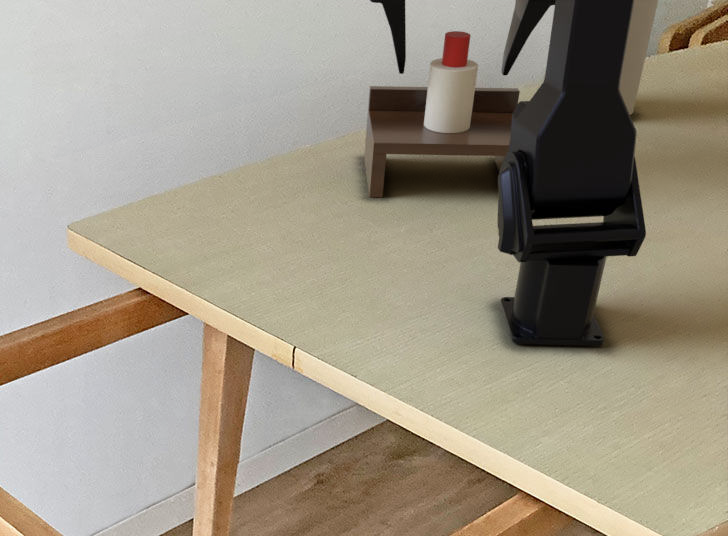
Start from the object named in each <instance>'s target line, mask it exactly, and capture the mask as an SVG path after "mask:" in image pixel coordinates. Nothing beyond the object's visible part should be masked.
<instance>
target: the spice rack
mask: <svg viewBox="0 0 728 536" xmlns="http://www.w3.org/2000/svg"><path fill="white" fill-rule="evenodd" d="M427 90H428V86H388V85H387V86H386V85H384V86H383V85H381V86H379V85H369V90H368V91H369V92H368V106H367V118H366V128H365V129H366V130H365V131H366V132H365V141H364V142H365V143H364V154H363V155H364V156H363V157H364V158H363V159H364V166H365V174H366V181H367V188H368V196H369V198H383V196H384V185H385V176H386V175H385V173H386V164H387V163H386V161H387V155H405V156H406V155H408V156H409V155H410V156H411V155H413V156H415V155H416V156H465V157H466V156H471V157H473V156H474V157H494V162H495V165H496V167H497V169H498V171H499V170H500V168H501V167H502V163H503V160H504V157H505V155H506V154H507V152H508V148H509V143H510V137H511V124H512V114H513V112H514V110H515V108H516V106H517V105H518V103H519V99H520V93H521V92H520V89H519V88H518V87H517V88H515V87H475V93H474V100H473V107H472V115H471V122H470V128H469V129H468V130H467V131H464V132H460V133H439V132H435V131H431V130H429V129H427V128H426V127H425V126H424V118H425V109H426V99H427Z"/></svg>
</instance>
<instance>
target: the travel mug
mask: <svg viewBox="0 0 728 536" xmlns="http://www.w3.org/2000/svg"><path fill="white" fill-rule="evenodd" d="M658 3H659V0H634V5H633V11H632V17H631V22H630V28H629V34H628V40H627V45H626V51H625V57H624V63H623V68H622V74H621V80H620V93H621V95H622V97H623V100H624V102H625V105H626V107H627V109H628V112H629V114H630V116H631V115H632V114H633V113H634V110H635V105H636V101H637V96H638V92H639V87H640V82H641V79H642V75H643V70H644V66H645V61H646V57H647V52H648V47H649V43H650V39H651V35H652V29H653V26H654V20H655V17H656V12H657V7H658Z"/></svg>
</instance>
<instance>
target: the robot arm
mask: <svg viewBox="0 0 728 536" xmlns="http://www.w3.org/2000/svg"><path fill="white" fill-rule="evenodd" d="M369 1H370V2H371V3H375V4H381V5H382V8H383V11H384V14H385V17H386V20H387V23H388V26H389V28H390V34H391V38H392V43H393V49H394V55H395V59H396V64H397V70H398V73H399V75H400V74H401V75H403V74H404V73H405V67H406V60H407V45H406V44H407V42H406V41H407V40H406V37H407V34H406V30H407V29H406V25H407V24H406V0H369ZM633 5H634V0H515V4H514V9H513V13H512V17H511V22H510V26H509V30H508V33H507V38H506V42H505V46H504V51H503V55H502V61H501V74H502V76H508V75H509V73H510V71H511V69H512V68H513V66H514V64H515V62H516V61H517V59H518V57H519V55H520V53H521V51H522V50H523V49H524V46H525V45H526V43H527V41H528V40H529V37H530V36H531V34H532V32H533V31H534V30H535V28H536V27H537V26H538V24H539V22H540V21H541V20H542V18H543V17H544V15H545V14H546V13H547V12H548V10H549V8H551V6H552V7H553V6H554V7H553V8H554V9H553V17H552V22H551V23H552V24H551V30H550V38H549V46H548V52H547V60H546V66H545V74H544V79H543V82H542V83H541V84H540V86H539V87H538V89H537V90H536V92H535V93H534V94H533V95H532V97H531V98H530V100H520V101H518V105H517V106H516V108H515V110H514V112H513V114H512V124H511V137H510V143H509V148H508V152H507V154H506V155H505V157H504V160H503V163H502V167H501V168H500V170H498V176H497V190H498V196H497V197H498V199H497V230H498V231H497V233H498V243H497V249H498V251H499V252H501V253H503V254H507V255H510V256H513V257H514V258H515V260H516V261H517V262H518V263H519V268H518V274H517V281H516V285H515V292H514V296H503V297H501V298H500V302H499V306H500V309H501V312H502V316H503V319H504V322H505V324H506V329H507V332H508V334H509V337H510V341H511V342H512V343H514V344H518V345H545V346H546V345H549V346H551V345H552V346H553V345H554V346H588V347H589V346H590V347H591V346H592V347H594V346H595V347H599V346H603V345H604V343H605V340H606V339H605V335H604V333H603V331H602V329H601V327H600V325H599V322H598V321H597V318H596V316H595V309H596V306H597V300H598V296H599V292H600V288H601V283H602V279H603V274H604V270H605V266H606V261H607V257H622V256H623V257H624V256H627V257H629V258H630V257H637V254H638V253H639V252H640V249H641V247H642V245H643V243H644V241H645V239H646V235H647V229H646V223H645V222H646V221H645V215H644V209H643V203H642V197H641V189H640V182H639V174H638V168H637V161H636V157H635V153H636V143H637V136H638V135H637V134H638V133H637V128H636V126H635V123H634V121H633V119H632V116H631V115H630V114H629V112H628V109H627V107H626V105H625V102H624V100H623V97H622V95H621V93H620V80H621V74H622V68H623V63H624V57H625V51H626V45H627V40H628V34H629V28H630V22H631V17H632V11H633ZM597 217H603V218H602V219H603V220H602V221H597V222H580V223H578V222H577V223H560V224H541V225H534V223H533V221H539V220H556V219H557V220H559V219H576V218H578V219H579V218H597Z"/></svg>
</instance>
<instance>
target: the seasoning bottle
mask: <svg viewBox="0 0 728 536" xmlns="http://www.w3.org/2000/svg"><path fill="white" fill-rule="evenodd" d="M443 41H444V42H443V48H442V49H443V50H442V57H439V58H436V59H433V60H432V61H430V64H429V73H428V81H427V87H428V90H427V99H426V109H425V118H424V126H425V127H426V128H427V129H429V130H431V131H435V132H439V133H460V132H464V131H467V130H468V129H469V128H470V122H471V115H472V107H473V100H474V93H475V88H476V85H477V77H478V69H479V64H478V63H477V62H476V61H474V60H471V59H468V58H469V51H470V43H471V34H470V33H468V32H465V31H459V30H453V31H448V32H445V33H444V40H443Z"/></svg>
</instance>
